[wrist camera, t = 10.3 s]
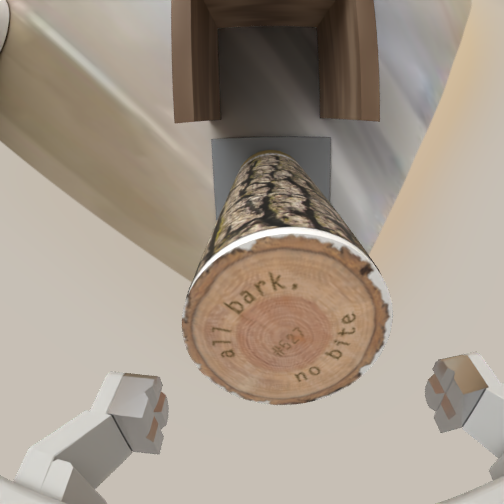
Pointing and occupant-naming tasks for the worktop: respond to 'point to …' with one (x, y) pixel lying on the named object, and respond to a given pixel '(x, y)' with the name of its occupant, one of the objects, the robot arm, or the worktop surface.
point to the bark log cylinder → (284, 292)
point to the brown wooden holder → (278, 14)
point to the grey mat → (240, 149)
